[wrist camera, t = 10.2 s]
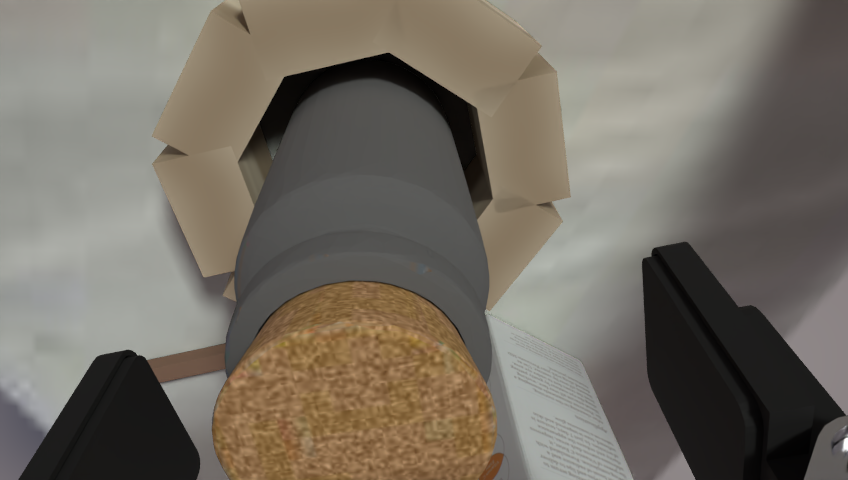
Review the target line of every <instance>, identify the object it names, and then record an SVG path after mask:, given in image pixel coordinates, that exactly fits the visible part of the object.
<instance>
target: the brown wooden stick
mask: <svg viewBox="0 0 848 480" xmlns="http://www.w3.org/2000/svg"><path fill="white" fill-rule="evenodd" d="M225 346H226V343H225V344H221V345H216V346H211V347H207V348H202V349H197V350H193V351H188V352H183V353H179V354H174V355H169V356H165V357H160V358H155V359H151V360H147V361H148V363H149V365H150V367H151V368H152V370H153V372H154V374H155V376H156V377H157V379H158V381H159V383H160V382H165V381H170V380H175V379H179V378H184V377H189V376H193V375H198V374H203V373H208V372H212V371H217V370H222V369H226V368H225V359H224V356H225Z"/></svg>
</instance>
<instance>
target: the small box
mask: <svg viewBox="0 0 848 480" xmlns="http://www.w3.org/2000/svg"><path fill="white" fill-rule="evenodd" d="M485 316H486V320H487V323H488V327H489V333H490V339H491V345H492V364H491V373H490V376H489V379H488V382H487V386H488V388H489V391H490V393H491V395H492V398H493V401H494V405H495V409H496V414H497V438H496V442H495V446H494V450H493V453H492V456H491V458H490V460H489V462H488V465H487V467H486V469H485V470H484V472H483V473H482V474H481V476H480V477H479V479H478V480H634V479H633V476H632V474H631V472H630V469H629V467H628V465H627V462H626V460H625V458H624V456H623V454H622V452H621V449H620V447H619V445H618V442H617V440H616V438H615V436H614V434H613V431H612V429H611V427H610V424H609V422H608V420H607V418H606V415H605V413H604V411H603V409H602V407H601V404H600V402H599V400H598V397H597V395H596V393H595V391H594V389H593V386H592V384H591V382H590V380H589V377H588V375H587V373H586V371H585V368H584V366H583V364H582V362H581V361H580V360H578V359H576V358H574V357H572V356H570V355H568V354H566V353H564V352H562V351H561V350H559V349H557V348H555V347H553V346H551V345H549V344H547V343H545V342H543V341H541V340H539V339H537V338H535V337H533V336H531V335H529V334H527V333H525V332H523V331H521V330H519V329H517V328H515V327H513V326H511V325H509V324H507V323H505V322H503V321H501V320H499V319H497V318H495V317H493V316H491V315H488V314H487V315H485Z"/></svg>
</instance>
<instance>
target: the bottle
mask: <svg viewBox="0 0 848 480" xmlns="http://www.w3.org/2000/svg"><path fill="white" fill-rule="evenodd" d="M234 289H235V295H236V301H237V306H236V308H235V311H234V314H233V316H232V319H231V323H230V326H229V329H228V332H227V336H226V346H225V356H224V359H225V368H226V374H227V378H228V379H227V380H226V382H225V384H224V386H223V388H222V390H221V391H220V393H219V395H218V398H217V401H216V404H215V407H214V412H213V418H212V435H213V443H214V448H215V452H216V455H217V457H218V459H219V461H220V463H221V465H222V468H223V469H224V471H225V473H226V474H227V476H228V478H229V479H230V480H478V479H479V477H480V476H481V474H482V473H483V472H484V470H485V469H486V467H487V465H488V462H489V460H490V458H491V456H492V453H493V450H494V446H495V442H496V438H497V414H496V409H495V405H494V401H493V398H492V395H491V393H490V391H489V388H488V386H487V382H488V379H489V376H490V373H491V364H492V345H491V339H490V333H489V327H488V323H487V320H486V316H485V313H484V312H485V309H486V305H487V300H488V294H489V269H488V260H487V256H486V252H485V248H484V244H483V240H482V236H481V232H480V228H479V225H478V221H477V218H476V214H475V211H474V207H473V204H472V200H471V197H470V193H469V190H468V186H467V183H466V179H465V176H464V172H463V169H462V166H461V162H460V159H459V156H458V152H457V149H456V146H455V142H454V139H453V136H452V133H451V129H450V126H449V123H448V120H447V117H446V115H445V112H444V110H443V107H442V105H441V103H440V101H439V100H438V98H437V96H436V95H435V93H434V92H433V91H432V90H431V88H430V87H429V86H428V85H427V84H426V83H425V82H424V81H423V80H422V79H421V78H420V77H418V76H417V75H415V74H414V73H412V72H410V71H409V70H407V69H405V68H404V67H402V66H399V65H396V64H393V63H390V62H385V61H380V60H369V59H368V60H357V61H350V62H347V63H344V64H341V65H338V66H336V67H334V68H332V69H330V70H328V71H326V72H324V73H323V74H322V75H321V76H319V77H318V78H317V79H316V80H315V81H313V82H312V83H311V84H310V85H309V87H308V88H307V89H306V90H305V92H304V93H303V94H302V96H301V98H300V100H299V101H298V103H297V105H296V107H295V109H294V111H293V114H292V116H291V118H290V121H289V123H288V126H287V128H286V131H285V133H284V135H283V138H282V140H281V143H280V145H279V148H278V150H277V152H276V155H275V157H274V160H273V162H272V165H271V167H270V169H269V172H268V174H267V177H266V179H265V182H264V184H263V186H262V189H261V191H260V194H259V196H258V199H257V201H256V203H255V206H254V209H253V211H252V214H251V217H250V220H249V222H248V225H247V228H246V231H245V233H244V236H243V239H242V242H241V245H240V248H239V252H238V255H237V258H236V265H235V273H234Z"/></svg>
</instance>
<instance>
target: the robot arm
mask: <svg viewBox="0 0 848 480" xmlns="http://www.w3.org/2000/svg"><path fill="white" fill-rule="evenodd" d="M642 272H643V293H644V313H645V334H646V354H647V372H648V378H649V382H650V385H651V388H652V391H653V393H654V395H655V397H656V399H657V401H658V403H659V405H660V407H661V409H662V411H663V414H664V416H665V418H666V420H667V422H668V424H669V426H670V428H671V430H672V432H673V434H674V436H675V438H676V440H677V442H678V444H679V446H680V448H681V450H682V452H683V455H684V457H685V459H686V461H687V463H688V465H689V467H690V469H691V471H692V473H693V475H694V477H695V479H696V480H848V416H846V415H845V414H844V412H843V411H842V410H841V408H840V407H839V406H838V405H837V404H836V402H835V401H834V400H833V399H832V397H831V396H830V395H829V394H828V393H827V391H826V390H825V389H824V388H823V387H822V385H821V384H820V383H819V382H818V381H817V379H816V378H815V377H814V376H813V375H812V373H811V372H810V371H809V370H808V368H807V367H806V366H805V365H804V364H803V362H802V361H801V360H800V359H799V357H798V356H797V355H796V354H795V353H794V351H793V350H792V349H791V348H790V347H789V345H788V344H787V343H786V342H785V340H784V339H783V338H782V337H781V336H780V334H779V333H778V332H777V331H776V330H775V328H774V327H773V326H772V325H771V323H770V322H769V321H768V320H767V319H766V317H765V316H764V315H763V314H762V313H761V312H760V311H759V310H758V309H757V308H756V307H754V306H751V305H750V306H745V307H738V306H737V305H736V303H735V302H734V301H733V300H732V298H731V297H730V296H729V294H728V293H727V292H726V291H725V289H724V288H723V287H722V285H721V284H720V283H719V282H718V280H717V279H716V278H715V276H714V275H713V274H712V273H711V271H710V270H709V269H708V268H707V266H706V265H705V264H704V262H703V261H702V260H701V259H700V257H699V256H698V255H697V253H696V252H695V251H694V250H693V248H692V247H691V246H690V245H689V244H688V243H687V242H682V243H677V244H671V245H666V246H661V247H656V248H654V249H653V250H652V257H647V258H644V259H643V261H642ZM199 470H200V457H199V453H198V451H197V449H196V447H195V446H194V444H193V442H192V440H191V438H190V437H189V435H188V433H187V431H186V429H185V428H184V426H183V424H182V422H181V420H180V419H179V417H178V415H177V413H176V411H175V410H174V408H173V406H172V404H171V402H170V401H169V399H168V397H167V395H166V393H165V392H164V390H163V388H162V386H161V385H160V383H159V381H158V379H157V377H156V376H155V374H154V372H153V370H152V368H151V367H150V365H149V363H148V361H147V360H146V358H145V357H143V356H140V355H139V356H137V354H136V353H135V352H133V351H132V350H124V351H119V352H114V353H109V354H104V355H100V356H98V357H96V359H95V360H94V361H93V363H92V364H91V366H90V367H89V369H88V370H87V372H86V374H85V375H84V377H83V378H82V380H81V382H80V383H79V385H78V386H77V388H76V389H75V391H74V393H73V394H72V396H71V397H70V399H69V400H68V402H67V404H66V405H65V407H64V408H63V410H62V412H61V413H60V415H59V416H58V418H57V419H56V421H55V423H54V424H53V426H52V427H51V429H50V431H49V432H48V434H47V435H46V437H45V438H44V440H43V442H42V443H41V445H40V446H39V448H38V450H37V451H36V453H35V454H34V456H33V458H32V459H31V461H30V462H29V464H28V465H27V467H26V469H25V470H24V472H23V473H22V475H21V476H20V478H19V480H196V479H197V476H198V474H199Z"/></svg>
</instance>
